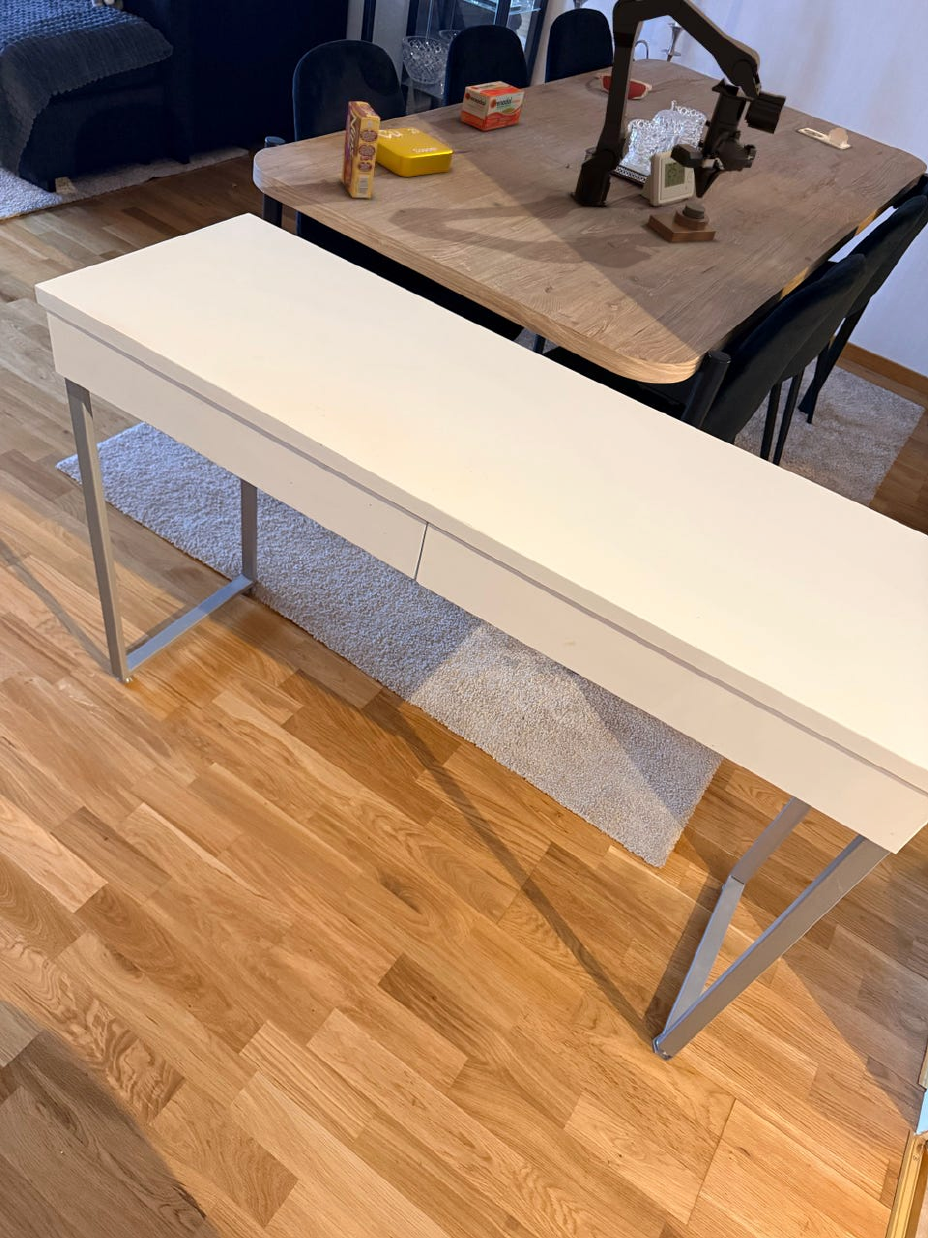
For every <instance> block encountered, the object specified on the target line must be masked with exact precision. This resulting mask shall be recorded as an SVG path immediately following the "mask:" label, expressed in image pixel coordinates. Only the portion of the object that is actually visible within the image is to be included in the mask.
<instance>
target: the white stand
mask: <svg viewBox="0 0 928 1238" xmlns="http://www.w3.org/2000/svg"><path fill="white" fill-rule="evenodd" d="M797 133H800V134H801V135H805V136H807V137H810V138H812V139H814V140H816V141H819V142H821V143H824V144H826V145H828V146H830V147H833V148H835V149H838V150H844V149H848V148H851V144H848V143H847V142H848V141H849V136H848V134H847V130H846V129H845V128H842V127H836V128H835V129H834V128H833V129H831V130H829V133H828V135H827V134H824V133H821V132H819V131H817V130H815V129H812V128H810V127H805V128H802V129H798V130H797Z"/></svg>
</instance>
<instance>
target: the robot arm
mask: <svg viewBox="0 0 928 1238" xmlns="http://www.w3.org/2000/svg"><path fill="white" fill-rule="evenodd" d="M666 16H669V17H670V18H671V19H672V20H674V21H675V23H676V24H678V25H679V26H680V28H682V29H683V30H684V31H685V32H686V33H688V35H690V36H691V37H692V38H693V39H694V40H695V41H696V42H698V44H700V45H701V46H702V47H703V48H704V49H705V50H706V51H707V52H708V53H709V54H710V55H711V56H712V57H713V59H714V60H715V61H716V63H717V65H718V67H719V69H721V72H722V73H723V74H724V76H725V77H722V78H721V79H720V80H719V81H718V82H716V83H715V82H714V83H713V85H712V86H711V91H712V92H715V93H718V94H719V95H718V98H717V101H716V104H715V107H714V109H713V113H712V115H711V119H706V121H705V124H704V126H706V127H707V129H706V130H707V131H706V133H705V136H704V139H703V140H699V141H698V144H697V147H698V148H700V149H698V148H696V147H695V146H694V145H692V144H690V143H677V144H675V145H674V146H672V148H671V149H672V152H671V155H670V158H672V159H673V160H675V161H676V162H678V163H679V164H681V165H682V166H684V167H686V168H693V171H694V187H695V188H694V189H695V190H694V191H695V197H696V198H697V199H702V198H703V197H704V196H705V195H706V193H707V192H708V190H709V189H710V188H711V186H712V184H713V183H714V182H715V181H716V179H717V178H718V177H720V176H721V175H722V174H724V173H726V172H729V173H731V172H743V170H744V169H751V168H752V166H753V163H754V160H755V158H756V155H757V152H758V147H757V146H756V144H754V143H750V144H749V143H748V144H745V143H742V142H741V141H740V138H741V135H742V133H741V132H742V130H741V129H739V125H740V122H741V120H742V117H743V114H744V111H745V108H746V106H747V103H748V102H749V105H748V108H747V110H746V112H745V115H744V118H743V119H744V121H745V124H747V126H746V127H747V128H750V129H755V130H757V131H761V132H764V133H767V134H770V135H775V132H776V129H777V127H778V124H779V121H780V119H781V116H782V114H783V112H782V111H783V108H784V105H785V104H786V100H787V95H786V96H785V95H782V94H774V93H771V92H768V91H765V90H762V88H763V87H762V82H761V78H760V75H759V70H760V67H761V57H760V55H759V53H758V52H757V51H756V50H755V49H753V48H752V47H751V46H749V45H747V44H745V43H744V42H742V41H740V40H738V39H735V38H733V37H731V36H730V35H728V34H726V32H724V30H723V29H721V28H720V27H719V26H718V25H717V24H716V23H715V22H714V21H713V20H712V19H710V17H708V16H707V15H706V14H705V13H704V12H703V11H702V10H701V9H700V8H698V6H696V4H694V3H693V2H692V1H691V0H616V2H615V3H614V5H613V8H612V13H611V20H612V21H611V22H612V23H611V25H612V39H613V45H614V47H613V48H614V50H613V58H612V66H611V73H610V74H611V79H610V87H609V92H608V95H607V102H606V111H605V119H604V124H603V127H602V129H601V132H600V135H599V138H598V141H597V143H596V147H595V151H593V152H591V153H590V154H589V156H587V158H586V159H585V160H584V161H583V162H582V163H581V165H580V171H579V174H578V178H577V182H576V186H575V190H574V191H571V192H570V195H571V196H572V197H573V198H574V199H575V200H576V202H578V204H579V205H581V206H583V207H600V208H602V207H603V208H607V206H608V204H607V203H606V201H607V198H608V195H609V191H610V188H611V184H612V183H611V178H612V175H611V174H610V173H611V172H614V171H615V170H616V169H617V168H618V167H619V165H620V164H621V163H622V162H623V161H624V159H625V158H626V156H627V155H628V154H629V152H630V147H629V145H630V140H631V137H632V135H633V134H632V133H633V132H632V131H626V124H625V121H626V119H625V118H626V113H627V107H628V101H629V100H628V99H629V98H628V93H629V86H630V79H632V71H633V64H634V58H635V50H636V46H637V43H638V41H639V37H640V36H641V32H642V30H643V26H644V23H645V22H646V21H649V20H654V19H658V18H662V17H666ZM726 78H727V80H728V81H729V82H730V83H728V82H727V80H726ZM740 90H742V91H740Z"/></svg>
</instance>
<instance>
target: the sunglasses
mask: <svg viewBox="0 0 928 1238" xmlns="http://www.w3.org/2000/svg"><path fill="white" fill-rule="evenodd" d="M595 76H596V77H597V78H598V79H599V80H598V84H599V85H600V88H601V89H602V90H603V91H606V92H607V93H609V87H610V79H611V73H608V72H607V73H606V72H597V73H596V75H595ZM652 89H653V85H651V84H649V83H647V82H644V81H640V80H637V79H633V78H631V79H630V86H629V93H628V99H632V100H634V99H635V100H638V99H643V98H645V96H647V94H648V92H649V91H652Z"/></svg>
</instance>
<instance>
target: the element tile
mask: <svg viewBox="0 0 928 1238" xmlns="http://www.w3.org/2000/svg"><path fill="white" fill-rule="evenodd" d="M452 158H453V149H452V148H451V147H449V146H447V145H445V144H444V143H442V142H440V141H438V140H437V139H435V138H434V137H432V136H430V135H428V134H426V133H425V132H423V131H422V130H420V129H418V128H417V127H413V126H411V127H410V126H409V127H399V128H389V129H379V134H378V142H377V150H376V158H375V163H378V165H381V166H383V168H385V169H387V170H389V171H390V172H392V173H393V174H395V175H397V176H399V177H404V178H411V177H418V176H425V175H432V174H441V173H447V172H449V171H450V170H451V164H452Z"/></svg>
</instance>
